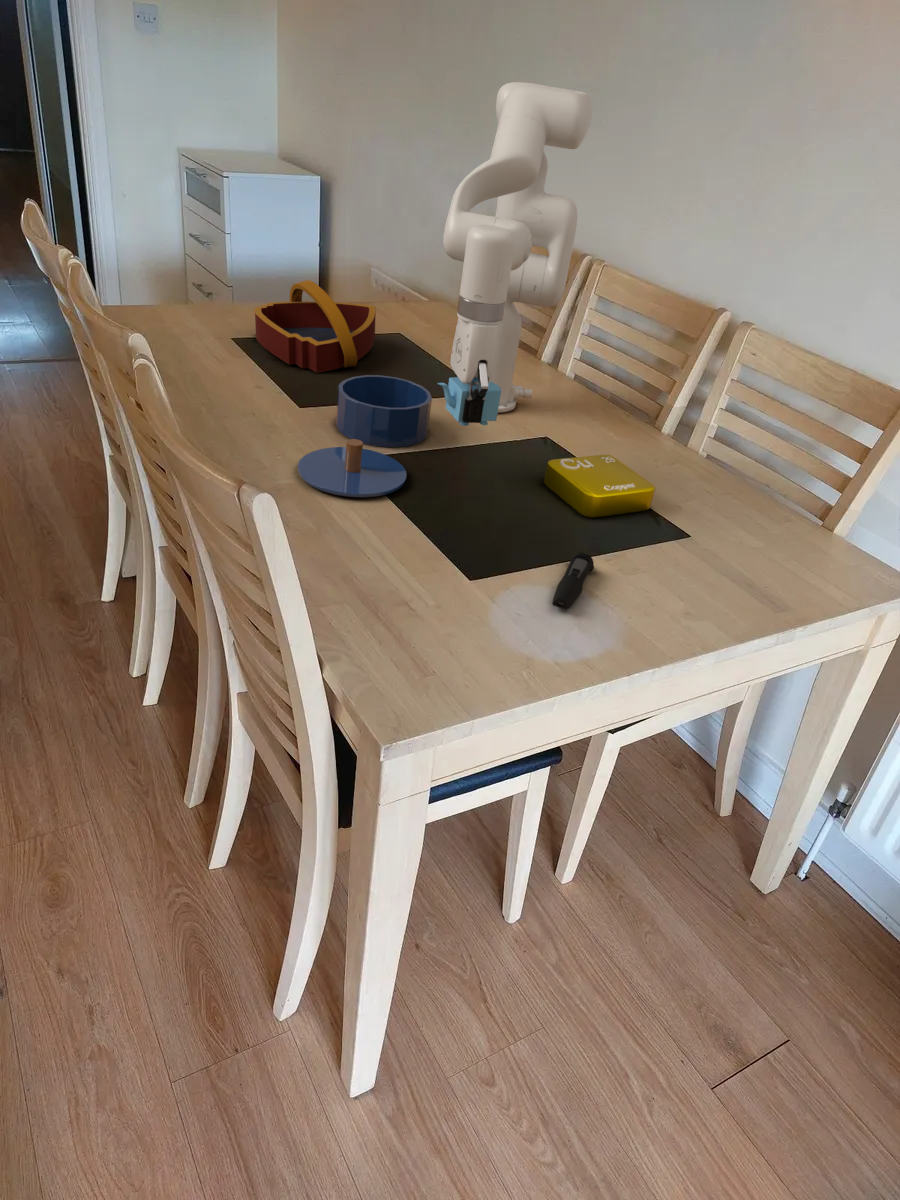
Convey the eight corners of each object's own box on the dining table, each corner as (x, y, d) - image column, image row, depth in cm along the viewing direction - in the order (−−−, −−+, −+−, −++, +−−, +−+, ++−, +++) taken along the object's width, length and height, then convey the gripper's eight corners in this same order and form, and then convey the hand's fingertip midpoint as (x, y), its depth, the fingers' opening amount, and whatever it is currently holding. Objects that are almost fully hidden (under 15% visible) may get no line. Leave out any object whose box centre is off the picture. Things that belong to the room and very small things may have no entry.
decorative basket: (242, 334, 212) (233, 271, 203) (354, 317, 222) (350, 256, 213) (280, 386, 188) (272, 318, 179) (405, 364, 198) (402, 298, 188)
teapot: (438, 427, 146) (444, 385, 142) (426, 413, 151) (431, 371, 146) (503, 425, 150) (510, 384, 146) (489, 411, 155) (496, 370, 151)
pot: (402, 408, 179) (405, 373, 175) (443, 443, 167) (448, 406, 163) (322, 414, 171) (324, 377, 167) (359, 451, 158) (362, 412, 154)
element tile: (585, 519, 147) (592, 494, 144) (539, 481, 158) (544, 457, 155) (654, 510, 154) (661, 486, 151) (605, 474, 164) (610, 450, 162)
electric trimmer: (543, 612, 122) (547, 593, 120) (570, 562, 134) (575, 545, 132) (569, 620, 121) (573, 601, 119) (594, 569, 133) (598, 552, 131)
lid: (378, 448, 160) (381, 417, 157) (424, 493, 148) (428, 460, 144) (281, 458, 152) (282, 424, 148) (322, 506, 139) (324, 471, 135)
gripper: (446, 291, 146) (433, 393, 156) (472, 325, 132) (457, 434, 142) (488, 294, 148) (473, 394, 158) (519, 327, 134) (500, 435, 144)
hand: (466, 412), depth 150 cm, fingers closed on teapot, 6 cm apart
